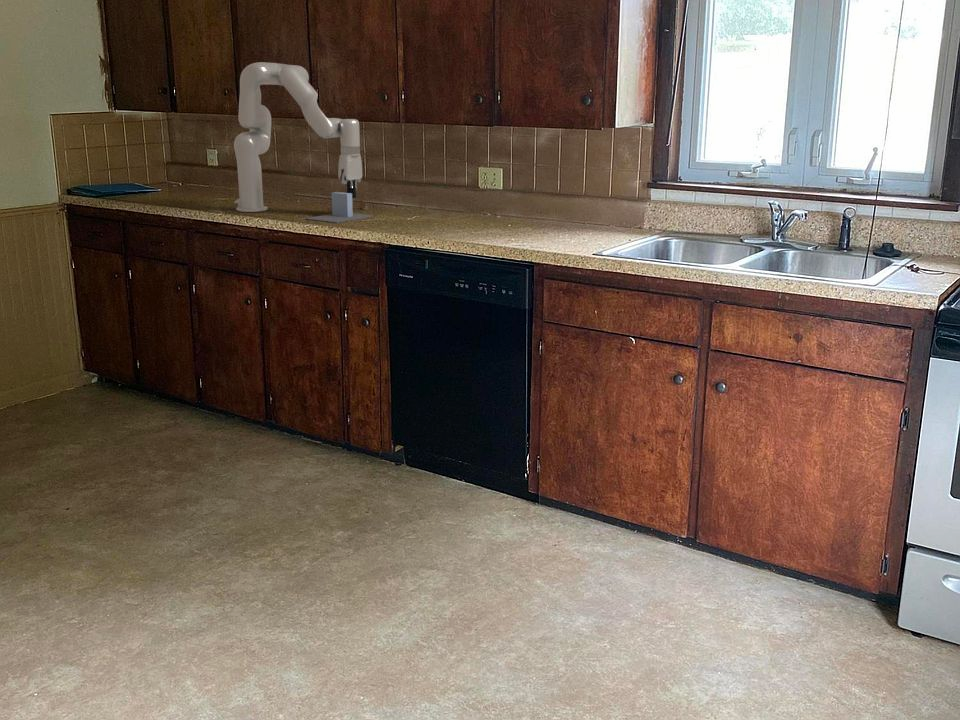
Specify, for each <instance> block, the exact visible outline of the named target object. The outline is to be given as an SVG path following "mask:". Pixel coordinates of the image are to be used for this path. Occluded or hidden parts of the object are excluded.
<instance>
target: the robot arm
mask: <svg viewBox="0 0 960 720" xmlns="http://www.w3.org/2000/svg"><path fill="white" fill-rule="evenodd" d="M309 79H310V77H309V73H308V71H307V69H305V68H304V67H303V66H301V65H296V64H295V65H294V64H285V63H279V62H278V63H277V62H265V61H264V62H263V61H261V62H259V61H258V62H253V63H250V64H249V65H246V66H245V68H243V70H242V71H241V74H240V77H239V98H238V100H239V101H238V115H237V117H238V118H237V119H238V122H239V124H240V126H241V127H242V128H244V129H248V130H249V131H244V132H241V133H239V134H238V135H236V137H235V139H234V142H233V148H234V152H235V154H234V155H235V158H236V163H237V164H236V167H237V179H238V195H239V198H237V199H236V200H234V204H235V205H237V207H236V211H237V212H243V213H245V212H246V213H256V212H264V211H268V206H265V205H264V197H263V196H264V195H263V193H264V192H263V191H264V190H263V177H262V176H263V175H262V164H261V160H260V157H259V155H262V154H263V155H264V154H265V153H267V151H268V150H269V148H270V144H271V138H272V135H271V134H272V114H271V112H270V110H269V108H268V107H266V105H263V104H262V91H261V87H260V86H262V85H272V86H273V85H274V86H276V85H277V86H283V87H284V88H285V90H286V91H287V92H288V93H289V94H290V95H291V96H292V98H293V99H294V100H295V101H296V103H297V104H298V105H299V107H300V108H301V112H302V114H303V117H304V120H305V121H306V122H307V124H308V125H309V127H311V129H312V130H313V131H314V132H315V133H316V134H317V135H318V136H319V137H321V138H322V139H331V138H332V139H333V138H334V139H335V138H339V137H340V155H339V157H338V158H339V159H338V168H337V169H338V171H337V173H338V174H337V175H338V176H337V177H338V180H339V181H341V184H342V185H345V188H346V189H347V193H352V198H354V199H356V198H357V191H356V187H357V188H358V184H359V183H360V182H362V178H363V162H362V161H363V160H362V156H361V143H360V142H361V141H360V140H361V139H360V136H361V135H360V122H359V120H358V119H355V118H345V119H343V118H338V117H327V116H326V115H325V113H324V112H323V110H321V108H320V107H319V105H318V96H319V95H318V92H317V91H316V90H315V89H314V87H313V86H312V85H311V84H310V82H309Z"/></svg>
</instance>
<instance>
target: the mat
mask: <svg viewBox="0 0 960 720" xmlns="http://www.w3.org/2000/svg"><path fill="white" fill-rule="evenodd" d="M373 217H374V215H371V214H363V213H354V212H353V216H351V217H342V216H333V215H332V213H330V214H323V215H318V216H313V217H312V216H311V217H306V218H305V219H308V220H307V221H313V220H318V221H317V222H322V221H328V222H327V223H330V222H334V223H333V224H340V223H339V222H341V223H346V222H351V220H352V221H356V220H361V219H367V218H373ZM305 219H304V220H305ZM345 221H346V222H345Z"/></svg>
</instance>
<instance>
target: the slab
mask: <svg viewBox="0 0 960 720" xmlns="http://www.w3.org/2000/svg"><path fill="white" fill-rule="evenodd" d="M353 209H354V208H353V204H352V193H345V192H341V191H335V192H331V211H332V212H331V214H332V215H333V216H342V217H351V216H353V213H354V212H353Z"/></svg>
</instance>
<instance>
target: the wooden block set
mask: <svg viewBox="0 0 960 720" xmlns="http://www.w3.org/2000/svg"><path fill="white" fill-rule="evenodd" d="M357 191H358V186H357V187H356V192H357ZM344 193H347V188H346V190H345V192H344ZM354 201H355V198H352V205H353V203H354ZM358 208H360V209H361V210H363V211H365V210H366V211H367V210H369V208H368V204H367V202H365V201H363V200H362V199H360V201H359V205H358Z"/></svg>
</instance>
